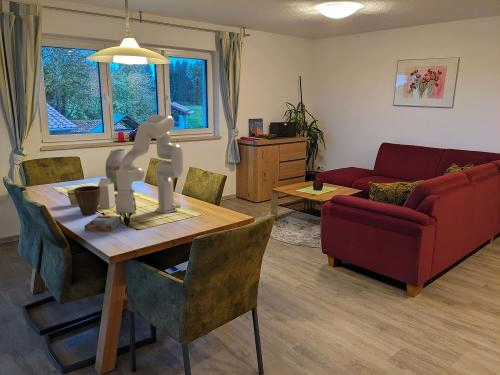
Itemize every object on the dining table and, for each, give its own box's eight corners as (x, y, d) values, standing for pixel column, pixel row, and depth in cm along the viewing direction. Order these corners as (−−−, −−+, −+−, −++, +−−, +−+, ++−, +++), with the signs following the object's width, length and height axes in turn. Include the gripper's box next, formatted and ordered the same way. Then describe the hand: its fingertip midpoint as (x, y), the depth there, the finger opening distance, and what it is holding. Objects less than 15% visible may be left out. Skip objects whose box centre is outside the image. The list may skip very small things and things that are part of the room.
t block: (119, 222, 224) (119, 216, 224) (112, 229, 213) (111, 222, 212) (98, 222, 225) (98, 215, 224) (90, 229, 213) (89, 222, 212)
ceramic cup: (71, 208, 252) (69, 193, 250) (66, 205, 260) (65, 190, 257) (91, 205, 260) (90, 190, 258) (87, 202, 268) (85, 187, 265)
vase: (109, 185, 318) (106, 148, 311) (136, 184, 321) (134, 147, 314) (104, 191, 297) (101, 152, 290) (134, 190, 301) (131, 151, 294)
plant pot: (107, 213, 241) (105, 188, 238) (83, 219, 231) (80, 192, 227) (95, 209, 251) (93, 184, 248) (71, 214, 240) (69, 188, 237)
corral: (121, 221, 227) (121, 216, 227) (109, 231, 210) (109, 226, 209) (98, 220, 228) (98, 215, 227) (84, 231, 210) (84, 225, 210)
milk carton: (109, 208, 252) (107, 179, 248) (99, 208, 254) (97, 179, 249) (115, 205, 259) (113, 177, 255) (105, 205, 260) (103, 177, 256)
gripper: (140, 190, 218) (142, 222, 222) (113, 190, 218) (116, 222, 222) (136, 194, 210) (138, 226, 214) (108, 193, 211) (111, 226, 215)
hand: (127, 224), depth 218 cm, fingers closed
